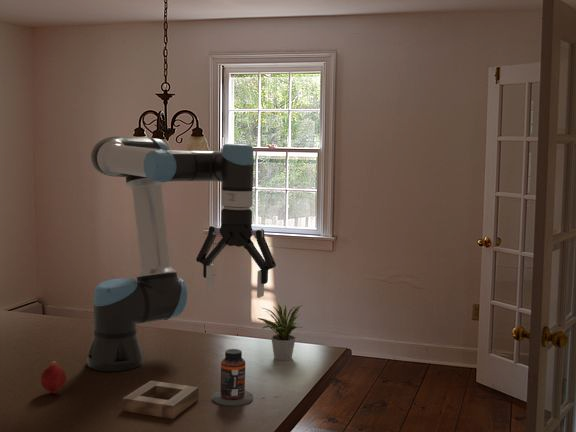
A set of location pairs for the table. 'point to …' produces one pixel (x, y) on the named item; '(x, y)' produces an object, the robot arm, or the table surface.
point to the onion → (53, 378)
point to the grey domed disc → (227, 402)
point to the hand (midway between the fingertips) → (234, 293)
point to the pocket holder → (149, 405)
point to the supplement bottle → (233, 375)
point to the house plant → (282, 333)
